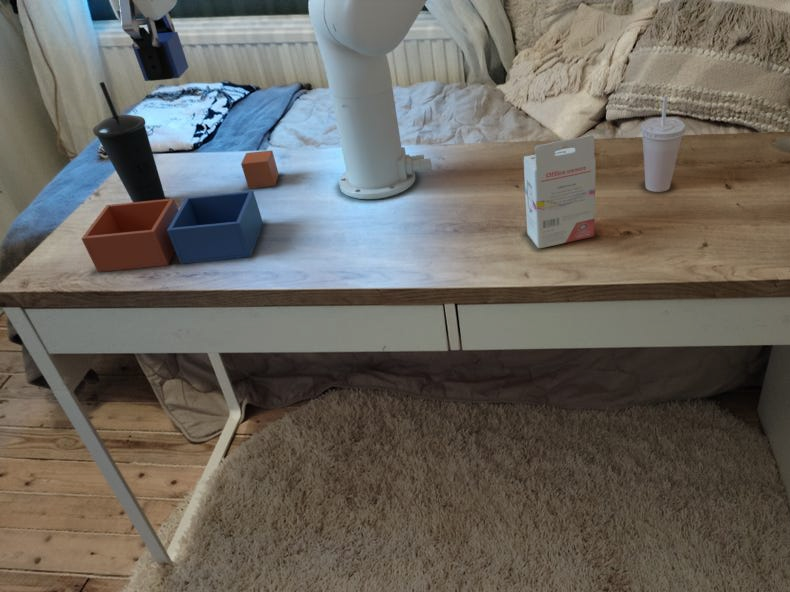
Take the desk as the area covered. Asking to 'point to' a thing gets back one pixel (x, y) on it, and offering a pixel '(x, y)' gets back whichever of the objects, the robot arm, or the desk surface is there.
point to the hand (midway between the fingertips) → (167, 71)
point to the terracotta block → (260, 169)
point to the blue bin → (216, 227)
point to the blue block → (169, 54)
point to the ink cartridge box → (560, 191)
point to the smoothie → (661, 149)
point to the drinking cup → (130, 153)
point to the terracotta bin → (131, 235)
